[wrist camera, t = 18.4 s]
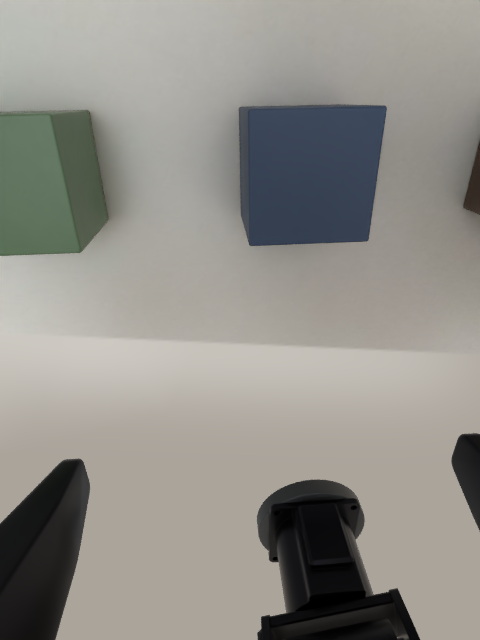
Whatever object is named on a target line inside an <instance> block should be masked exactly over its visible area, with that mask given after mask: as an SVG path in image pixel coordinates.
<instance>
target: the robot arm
mask: <svg viewBox="0 0 480 640" xmlns="http://www.w3.org/2000/svg"><path fill="white" fill-rule="evenodd" d="M452 466H453V469H454V472H455V474H456V476H457V479H458V481H459V484H460V486H461V488H462V491H463V493H464V496H465V498H466V500H467V503H468V505H469V507H470V510H471V512H472V514H473V517H474V519H475V522H476V524H477V526H478V528H479V530H480V434H477V433H473V434H462V435H460V437H459V438H458V440H457V443H456V446H455V449H454V452H453V455H452ZM89 493H90V483H89V479H88V476H87V472H86V469H85V465H84V463H83V461H82V460H81V459H67V460H63V461H62V462H61V463H59V464H58V465H57V466H56V468H55V469H54V470H53V471H52V472H51V473H50V474H49V475H48V476H47V477H46V478H45V479H44V480H43V481H42V482H41V483H40V484H39V485H38V486H37V487H36V488H35V489H34V490H33V491H32V492H31V493H30V494H29V495H28V496H27V497H26V498H25V499H24V500H23V501H22V502H21V503H20V504H19V505H18V506H17V507H16V508H15V509H14V510H13V511H12V512H11V513H10V514H9V515H8V516H7V518H5V519H4V520H3V521H2V522H1V523H0V640H55V639H56V635H57V632H58V628H59V625H60V621H61V618H62V614H63V611H64V607H65V604H66V600H67V597H68V593H69V589H70V586H71V582H72V579H73V576H74V572H75V568H76V564H77V560H78V555H79V550H80V545H81V539H82V533H83V527H84V522H85V516H86V510H87V504H88V499H89ZM359 512H360V503H359V501H358V499H356V498H348V499H334V500H320V501H306V502H292V503H278V504H273V505H272V506H271V507H270V517H269V560H270V561H271V562H279V567H280V573H281V580H282V586H283V594H284V600H285V607H286V613H285V614H280V615H276V616H271V617H270V615H267V616H262V617H261V626H262V629H261V630H260V631H259V632H258V640H420V638H419V636H418V634H417V632H416V629H415V627H414V625H413V622H412V620H411V618H410V615H409V613H408V611H407V609H406V607H405V604H404V602H403V600H402V597H401V595H400V593H399V591H398V589H397V588H396V589H391V590H389V592H386V593H381V594H376V595H373V592H372V589H371V586H370V583H369V580H368V577H367V574H366V571H365V568H364V565H363V562H362V559H361V556H360V553H359V550H358V547H357V544H356V541H355V532H356V527H357V522H358V517H359Z"/></svg>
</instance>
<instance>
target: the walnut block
mask: <svg viewBox="0 0 480 640" xmlns="http://www.w3.org/2000/svg"><path fill="white" fill-rule="evenodd" d="M464 208H465V209H468V210H470V211H472V212H475V213H477V214H479V215H480V144H479V148H478V152H477V156H476V160H475V164H474V168H473V172H472V176H471V180H470V184H469V188H468V192H467V196H466V200H465V204H464Z"/></svg>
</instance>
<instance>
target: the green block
mask: <svg viewBox="0 0 480 640" xmlns="http://www.w3.org/2000/svg"><path fill="white" fill-rule="evenodd" d="M107 221H108V216H107V210H106V204H105V199H104V193H103V187H102V182H101V176H100V171H99V165H98V159H97V154H96V148H95V143H94V137H93V131H92V126H91V120H90V114H89V111H87V110H77V111H30V112H0V256H9V255H34V254H60V253H80V252H82V251H83V249H84V248H85V247H86V246H87V245H88V244H89V242H90V241H91V240H92V239H93V238H94V236H95V235H96V234H97V233H98V232H99V231H100V229H101V228H102V227H103V226H104V225H105V223H106V222H107Z"/></svg>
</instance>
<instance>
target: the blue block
mask: <svg viewBox="0 0 480 640" xmlns="http://www.w3.org/2000/svg"><path fill="white" fill-rule="evenodd" d="M386 110H387V108H386V106H377V105H307V106H264V107H240V108H239V136H240V190H241V217H242V220H243V224H244V227H245V231H246V235H247V238H248V242H249V245H250V246H264V245H288V244H313V243H338V242H362V241H368V239H369V232H370V225H371V217H372V210H373V203H374V196H375V189H376V181H377V174H378V167H379V160H380V153H381V145H382V138H383V131H384V124H385V117H386Z"/></svg>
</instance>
